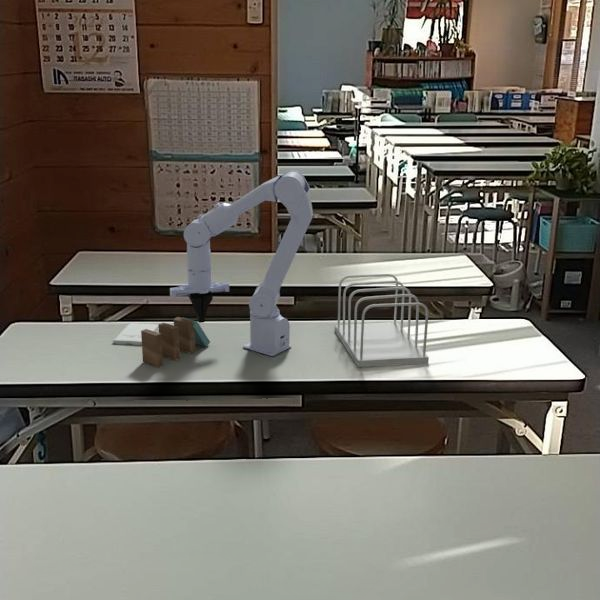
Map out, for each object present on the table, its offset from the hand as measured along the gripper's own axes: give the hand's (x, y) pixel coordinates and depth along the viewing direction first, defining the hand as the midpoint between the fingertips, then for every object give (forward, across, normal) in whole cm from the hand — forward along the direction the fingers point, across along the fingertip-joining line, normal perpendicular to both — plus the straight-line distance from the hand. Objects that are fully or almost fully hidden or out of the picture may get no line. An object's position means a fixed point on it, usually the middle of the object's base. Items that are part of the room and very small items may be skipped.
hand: (200, 321), depth 184 cm
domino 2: (+6, -10, -6) cm, 13 cm away
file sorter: (+6, +41, -18) cm, 45 cm away
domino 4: (+6, 0, 0) cm, 6 cm away
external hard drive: (+7, -14, +11) cm, 19 cm away
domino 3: (+6, -5, -3) cm, 8 cm away
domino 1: (+6, -14, -8) cm, 18 cm away
